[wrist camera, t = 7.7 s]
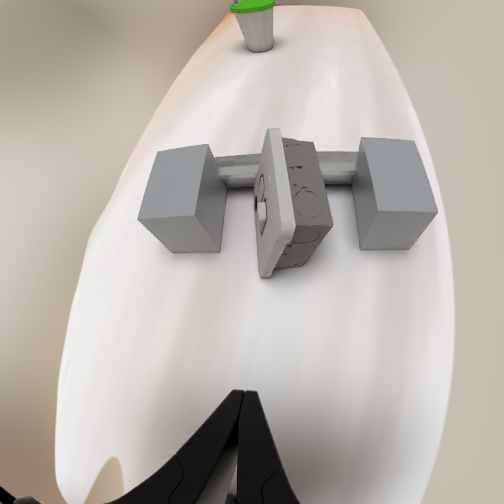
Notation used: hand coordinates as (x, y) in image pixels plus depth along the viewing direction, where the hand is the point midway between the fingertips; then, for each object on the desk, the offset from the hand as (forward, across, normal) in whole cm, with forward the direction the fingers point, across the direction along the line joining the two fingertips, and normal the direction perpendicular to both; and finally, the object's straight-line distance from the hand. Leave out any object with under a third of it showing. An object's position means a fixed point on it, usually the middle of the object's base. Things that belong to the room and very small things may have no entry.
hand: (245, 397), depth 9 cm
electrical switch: (+19, -1, -1) cm, 19 cm away
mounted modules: (+20, -2, -2) cm, 20 cm away
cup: (+46, +2, -30) cm, 54 cm away
